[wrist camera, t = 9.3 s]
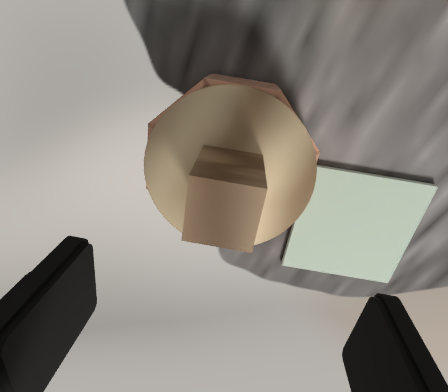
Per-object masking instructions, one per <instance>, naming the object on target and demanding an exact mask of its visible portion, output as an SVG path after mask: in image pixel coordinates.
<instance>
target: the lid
mask: <svg viewBox="0 0 448 392" xmlns="http://www.w3.org/2000/svg"><path fill="white" fill-rule="evenodd" d="M144 173H145V180H146V184H147V188H148V191H149V193H150V196H151V198H152V200H153V202H154V204H155V205H156V207H157V209H158V210H159V211H160V213H161V214H162V215H163V216H164V218H165V219H166V220H167V221H168V222H169V223H170V224H171V225H172V226H174V227H175V228H176V229H178V230H179V231H180V232H182V241H188V242H193V243H199V244H204V245H210V246H216V247H222V248H227V249H233V250H239V251H244V252H250V253H252V250H253V246H254V245H256V244H259V243H262V242H265V241H267V240H270V239H272V238H274V237H276V236H277V235H279V234H281V233H282V232H284V231H285V230H286V229H287V228H289V227H290V226H291V225H292V224H293V223H294V222H295V221H296V220H297V219H298V218H299V217H300V215H301V214H302V213H303V211H304V210H305V208H306V206H307V205H308V203H309V201H310V199H311V196H312V194H313V191H314V187H315V183H316V175H317V160H316V154H315V149H314V146H313V143H312V140H311V137H310V136H309V134H308V132H307V130H306V128H305V126H304V125H303V123H302V122H301V121H300V119H299V118H298V117H297V115H296V114H295V113H294V112H293V111H292V110H291V109H290V108H289V107H288V106H287V105H286V104H284V103H283V102H282V101H281V100H279V99H278V98H276V97H275V96H273V95H271V94H269V93H267V92H265V91H262V90H260V89H257V88H254V87H250V86H246V85H238V84H220V85H214V86H209V87H205V88H202V89H199V90H197V91H194V92H192V93H190V94H188V95H186V96H185V97H183V98H182V99H181V100H179V101H178V102H176V103H175V104H173V105H172V106H171V107H170V108H169V109H168V110H167V111H166V112H165V113H164V114H163V115H162V116H161V118H160V119H159V120H158V121H157V123H156V125H155V126H154V128H153V130H152V132H151V134H150V137H149V139H148V142H147V146H146V150H145V157H144Z"/></svg>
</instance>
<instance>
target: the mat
mask: <svg viewBox="0 0 448 392" xmlns="http://www.w3.org/2000/svg"><path fill="white" fill-rule="evenodd" d="M437 188H438V186H436V185H435V184H431V183H425V182H419V181H413V180H407V179H401V178H395V177H389V176H383V175H377V174H371V173H365V172H359V171H353V170H347V169H341V168H335V167H328V166H322V165H317V175H316V183H315V187H314V191H313V194H312V196H311V199H310V201H309V203H308V205H307V206H306V208H305V210H304V211H303V213H302V214H301V215H300V217H299V218H298V219H297V220H296V221H295V222H294V223H293V225H292V228H291V231H290V235H289V238H288V241H287V245H286V248H285V252H284V255H283V258H282V265H283V266H289V267H295V268H301V269H307V270H313V271H319V272H325V273H331V274H337V275H343V276H349V277H355V278H361V279H367V280H373V281H379V282H385V283H388V282H389V280H390V278H391V276H392V274H393V272H394V270H395V269H396V267H397V265H398V263H399V261H400V259H401V257H402V255H403V253H404V251H405V249H406V247H407V246H408V244H409V242H410V240H411V238H412V236H413V234H414V232H415V230H416V228H417V226H418V224H419V223H420V221H421V219H422V217H423V215H424V213H425V211H426V209H427V207H428V205H429V203H430V202H431V200H432V198H433V196H434V194H435V192H436V190H437Z"/></svg>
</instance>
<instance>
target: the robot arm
mask: <svg viewBox="0 0 448 392" xmlns="http://www.w3.org/2000/svg"><path fill="white" fill-rule="evenodd" d="M96 304H97V296H96V283H95V270H94V257H93V247H92V245H91V244H89V243H88V240H87V239H84V238H79V237H74V236H68V237H66V238H65V239H64V240H63V241H62V242H61V243H60V244H59V245H58V246H57V247H56V248H55V249H54V250H53V251H52V252H51V253H50V254H49V255H48V256H47V257H46V258H45V259H44V260H42V261H41V262H40V263H39V265H37V266H36V267H35V268H34V269H33V270H32V271H31V272H29V273H28V274H27V275H25V276H24V277H23V278H22V279H21V280H20V281H19V282H18V283H17V284H16V285H15V286H14V287H13V288H12V289H11V290H10V291H9V292H8V293H7V294H6V295H5V296H3V297H2V299H0V392H43V391H44V390H45V388H46V387H47V385H48V384H49V382H50V380H51V379H52V377H53V376H54V374H55V372H56V371H57V369H58V368H59V366H60V364H61V363H62V361H63V360H64V358H65V357H66V355H67V353H68V352H69V350H70V349H71V347H72V345H73V344H74V342H75V341H76V339H77V337H78V336H79V334H80V333H81V331H82V329H83V328H84V326H85V325H86V323H87V321H88V320H89V318H90V317H91V315H92V313H93V312H94V310H95V307H96ZM342 357H343V362H344V366H345V370H346V373H347V377H348V381H349V384H350V388H351V392H448V385H447V383H446V381H445V380H444V378H443V376H442V374H441V372H440V370H439V369H438V367H437V365H436V363H435V361H434V360H433V358H432V356H431V354H430V352H429V351H428V349H427V348H426V345H425V344H424V342H423V340H422V338H421V336H420V335H419V333H418V331H417V329H416V328H415V326H414V324H413V322H412V320H411V319H410V317H409V315H408V313H407V311H406V310H405V308H404V306H403V305H402V303H401V301H400V299H399V298H398V297H396V296H391V295H385V294H380V293H377V294H376V295H375V296H374V297H370V298H369V300H368V302H367V303H366V305H365V307H364V309H363V311H362V313H361V315H360V317H359V319H358V321H357V323H356V325H355V327H354V329H353V331H352V332H351V334H350V336H349V338H348V340H347V342H346V344H345V346H344V348H343V353H342Z"/></svg>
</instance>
